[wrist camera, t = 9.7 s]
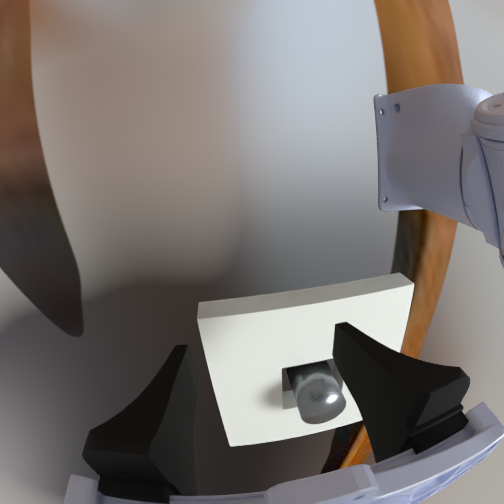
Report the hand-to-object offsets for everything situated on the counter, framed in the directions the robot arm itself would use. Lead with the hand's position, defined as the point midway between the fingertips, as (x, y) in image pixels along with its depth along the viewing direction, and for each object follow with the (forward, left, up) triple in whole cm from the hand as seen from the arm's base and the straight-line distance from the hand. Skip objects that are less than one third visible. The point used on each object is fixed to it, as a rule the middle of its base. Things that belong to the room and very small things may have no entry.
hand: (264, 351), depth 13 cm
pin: (+11, +5, -9) cm, 15 cm away
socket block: (+11, +5, -9) cm, 15 cm away
